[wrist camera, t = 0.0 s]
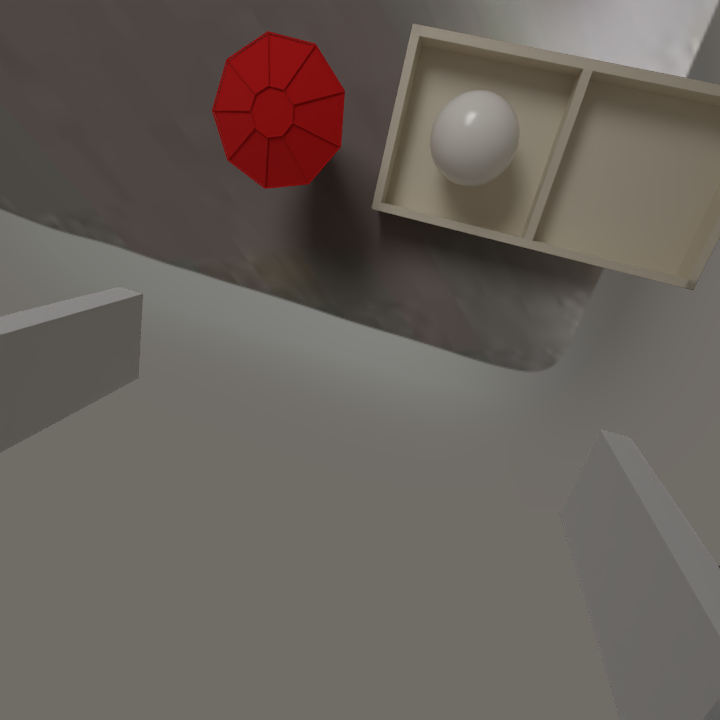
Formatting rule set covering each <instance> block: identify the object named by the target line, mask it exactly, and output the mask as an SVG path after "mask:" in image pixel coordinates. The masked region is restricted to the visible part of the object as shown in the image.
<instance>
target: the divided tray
mask: <svg viewBox="0 0 720 720" xmlns="http://www.w3.org/2000/svg"><path fill="white" fill-rule="evenodd" d="M472 90H488V91H491V92H494V93H496V94H499V95H500V96H502V97H503V98H504V99H506V100H507V101H508V102H509V104H510V105H511V106H512V107H513V109H514V111H515V113H516V115H517V118H518V122H519V128H520V138H519V144H518V148H517V151H516V154H515V156H514V158H513V160H512V162H511V163H510V165H509V166H508V167H507V169H506V170H505V171H504V172H503V173H502V174H501V175H500V176H498V177H497V178H495V179H494V180H492V181H490V182H488V183H485V184H482V185H478V186H463V185H459V184H456V183H453V182H451V181H450V180H448V179H447V178H445V177H444V176H443V175H442V174H441V173H440V171H439V170H438V169H437V167H436V165H435V163H434V161H433V158H432V155H431V150H430V135H431V130H432V127H433V124H434V121H435V119H436V117H437V116H438V114H439V112H440V111H441V110H442V108H443V107H444V106H445V105H446V104H447V103H448V102H449V101H450V100H452V99H453V98H454V97H456V96H458V95H460V94H462V93H464V92H467V91H472ZM371 209H374V210H378V211H382V212H386V213H390V214H394V215H398V216H402V217H406V218H410V219H413V220H417V221H421V222H425V223H429V224H433V225H437V226H441V227H445V228H449V229H453V230H457V231H461V232H465V233H469V234H473V235H477V236H481V237H485V238H489V239H493V240H497V241H500V242H504V243H508V244H512V245H516V246H520V247H524V248H528V249H532V250H536V251H540V252H544V253H548V254H552V255H556V256H560V257H564V258H568V259H572V260H576V261H580V262H583V263H587V264H591V265H595V266H599V267H603V268H607V269H611V270H616V271H619V272H623V273H627V274H631V275H635V276H639V277H643V278H647V279H651V280H655V281H659V282H663V283H666V284H671V285H674V286H678V287H682V288H686V289H690V290H694V287H695V285H696V284H697V281H698V280H699V278H700V275H701V274H702V271H703V269H704V267H705V266H706V264H707V262H708V260H709V258H710V255H711V254H712V252H713V250H714V248H715V246H716V244H717V241H718V239H719V238H720V85H719V84H714V83H708V82H704V81H699V80H694V79H689V78H684V77H679V76H674V75H669V74H664V73H658V72H653V71H648V70H643V69H638V68H633V67H628V66H623V65H618V64H613V63H608V62H603V61H598V60H593V59H588V58H583V57H578V56H573V55H568V54H563V53H558V52H553V51H548V50H543V49H538V48H533V47H528V46H523V45H518V44H513V43H508V42H503V41H498V40H493V39H487V38H482V37H477V36H472V35H467V34H462V33H457V32H452V31H447V30H442V29H437V28H432V27H427V26H422V25H417V24H413V26H412V30H411V35H410V39H409V44H408V48H407V53H406V57H405V61H404V66H403V70H402V75H401V79H400V84H399V88H398V93H397V97H396V101H395V106H394V110H393V115H392V119H391V124H390V128H389V133H388V137H387V142H386V146H385V150H384V155H383V159H382V164H381V168H380V173H379V177H378V182H377V186H376V191H375V195H374V199H373V204H372V208H371Z"/></svg>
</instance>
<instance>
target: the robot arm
mask: <svg viewBox="0 0 720 720" xmlns="http://www.w3.org/2000/svg"><path fill="white" fill-rule="evenodd" d="M142 299H143V294H142V293H138V292H135V291H131V290H128V289H125V288H122V287H117V288H113V289H109V290H105V291H101V292H97V293H93V294H89V295H85V296H81V297H77V298H73V299H70V300H65V301H61V302H57V303H54V304H49V305H45V306H41V307H37V308H33V309H29V310H25V311H21V312H17V313H13V314H9V315H5V316H1V317H0V452H2V451H4V450H6V449H8V448H10V447H12V446H13V445H15V444H17V443H19V442H21V441H23V440H25V439H26V438H28V437H30V436H32V435H33V434H36V433H38V432H39V431H41V430H43V429H44V428H47V427H49V426H50V425H52V424H54V423H56V422H58V421H60V420H62V419H63V418H65V417H67V416H69V415H71V414H73V413H74V412H76V411H78V410H80V409H82V408H84V407H86V406H87V405H89V404H91V403H93V402H95V401H97V400H99V399H101V398H102V397H104V396H106V395H108V394H110V393H112V392H113V391H115V390H117V389H119V388H121V387H123V386H125V385H126V384H128V383H130V382H132V381H134V380H136V379H138V376H139V357H140V338H141V336H140V335H141V319H142V301H143V300H142ZM560 517H561V520H562V524H563V527H564V530H565V534H566V537H567V541H568V544H569V547H570V551H571V554H572V558H573V561H574V565H575V568H576V571H577V575H578V578H579V582H580V585H581V588H582V592H583V595H584V599H585V602H586V605H587V609H588V613H589V616H590V619H591V623H592V626H593V630H594V633H595V636H596V640H597V643H598V646H599V650H600V653H601V656H602V660H603V664H604V667H605V671H606V674H607V677H608V681H609V684H610V688H611V691H612V695H613V698H614V701H615V705H616V708H617V712H618V715H619V718H620V720H720V566H718V565H717V564H716V562H715V561H714V559H713V558H712V556H711V555H710V553H709V552H708V551H707V549H706V548H705V546H704V545H703V543H702V542H701V540H700V539H699V537H698V536H697V534H696V533H695V532H694V530H693V529H692V527H691V526H690V524H689V523H688V521H687V520H686V518H685V517H684V515H683V514H682V512H681V511H680V510H679V508H678V507H677V505H676V504H675V502H674V501H673V499H672V498H671V496H670V495H669V493H668V492H667V491H666V489H665V488H664V486H663V485H662V483H661V482H660V480H659V479H658V477H657V476H656V474H655V473H654V472H653V470H652V469H651V467H650V466H649V464H648V463H647V461H646V460H645V458H644V457H643V456H642V454H641V453H640V451H639V450H638V448H637V447H636V445H635V444H634V442H633V441H632V439H631V438H629V437H625V436H622V435H619V434H615V433H612V432H609V431H605V430H602V429H600V430H599V432H598V434H597V437H596V438H595V441H594V443H593V445H592V447H591V449H590V451H589V453H588V455H587V457H586V459H585V462H584V463H583V465H582V468H581V470H580V472H579V474H578V476H577V478H576V480H575V482H574V484H573V487H572V488H571V491H570V493H569V495H568V497H567V499H566V501H565V503H564V505H563V507H562V509H561V512H560Z"/></svg>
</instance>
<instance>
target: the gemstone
mask: <svg viewBox="0 0 720 720" xmlns="http://www.w3.org/2000/svg"><path fill="white" fill-rule="evenodd" d="M269 33H270V34H269ZM266 34H267V35H266ZM272 34H273V35H272ZM264 35H265V36H264ZM276 35H277V36H276ZM263 36H264V37H263ZM280 36H281V37H280ZM284 37H285V38H284ZM260 38H261V39H260ZM287 38H289V39H287ZM259 39H260V40H259ZM291 39H293V40H291ZM257 40H258V41H257ZM295 40H297V41H295ZM256 41H257V42H256ZM299 41H300V42H299ZM254 42H255V43H254ZM303 42H304V43H303ZM253 43H254V44H253ZM307 43H308V44H307ZM251 44H252V45H251ZM310 44H312V45H310ZM250 45H251V46H250ZM248 46H249V47H248ZM247 47H248V48H247ZM245 48H246V49H245ZM244 49H245V50H244ZM242 50H243V51H242ZM241 51H242V52H241ZM239 52H240V53H239ZM238 53H239V54H238ZM236 54H237V55H236ZM235 55H236V56H235ZM233 56H234V57H233ZM232 57H233V58H232ZM229 59H230V60H229ZM227 62H228V64H227ZM226 65H227V67H226ZM225 69H226V70H225ZM330 70H331V71H330ZM224 72H225V74H224ZM223 76H224V77H223ZM335 78H336V79H335ZM222 79H223V81H222ZM221 82H222V84H221ZM220 86H221V88H220ZM219 89H220V91H219ZM218 93H219V95H218ZM217 96H218V98H217ZM344 96H345V90H344V89H343V87H342V85H341V84H340V82H339V81H338V79H337V77H336V76H335V74H334V73H333V71H332V69H331V68H330V66H329V65H328V63H327V61H326V60H325V58H324V56H323V55H322V53H321V52H320V50H319V48H318V47H317V45H316V44H315V43H311V42H307V41H303V40H299V39H295V38H292V37H288V36H284V35H280V34H276V33H272V32H268V31H267V32H266V33H264V34H263V35H261V36H260V37H258V38H257V39H256V40H254V41H253V42H251V43H250V44H248V45H247V46H245V47H244V48H242V49H241V50H239V51H238V52H236V53H235V54H233V55H232V56H231V57H229V58H228V59H227V60H226V63H225V67H224V70H223V74H222V77H221V81H220V84H219V88H218V91H217V95H216V98H215V102H214V105H213V109H212V112H213V115H214V118H215V122H216V125H217V128H218V131H219V134H220V138H221V141H222V144H223V147H224V151H225V154H226V157H227V160H228V161H229V162H230V163H232V164H233V165H234V166H236V165H237V166H236V167H237V168H238V169H240V168H241V169H240V170H241V171H242V172H244V171H245V172H244V173H245V174H246V175H248V174H249V175H248V176H249V177H250V178H251V179H253V180H254V181H255V182H257V181H258V182H257V183H258V184H259V185H261V184H262V185H261V186H262V187H263V188H265V189H266V188H276V187H286V186H296V185H306V184H309V183H310V182H311V181H312V180H313V179H314V178H315V176H316V175H317V174H318V173H319V172H320V171H321V169H322V168H323V167H324V166H325V165H326V164H327V162H328V161H329V160H330V159H331V158H332V157H333V156H334V154H335V153H336V152H337V151H338V150H339V149H340V147H341V139H342V125H343V110H344ZM216 100H217V102H216ZM215 103H216V105H215ZM214 107H215V109H214ZM214 112H215V114H214ZM215 116H216V117H215ZM216 119H217V120H216ZM217 122H218V124H217ZM218 125H219V127H218ZM219 129H220V130H219ZM220 132H221V133H220ZM221 135H222V137H221ZM222 138H223V140H222ZM223 142H224V143H223ZM224 145H225V146H224ZM225 148H226V150H225ZM226 151H227V153H226ZM227 155H228V156H227ZM231 161H232V162H231ZM235 164H236V165H235ZM239 167H240V168H239ZM243 170H244V171H243ZM252 177H253V178H252ZM256 180H257V181H256ZM260 183H261V184H260ZM302 183H303V184H302ZM292 184H293V185H292ZM282 185H283V186H282ZM272 186H273V187H272Z"/></svg>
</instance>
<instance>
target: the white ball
mask: <svg viewBox="0 0 720 720" xmlns="http://www.w3.org/2000/svg"><path fill="white" fill-rule="evenodd" d="M519 138H520V128H519V122H518V118H517V115H516V113H515V111H514V109H513V107H512V106H511V105H510V104H509V102H508V101H507V100H506V99H504V98H503V97H502V96H500V95H499V94H496V93H494V92H491V91H488V90H472V91H467V92H464V93H462V94H460V95H458V96H456V97H454V98H453V99H452V100H450V101H449V102H448V103H447V104H446V105H445V106H444V107H443V108H442V110H441V111H440V112H439V114H438V116H437V117H436V119H435V121H434V124H433V127H432V130H431V135H430V150H431V155H432V158H433V161H434V163H435V165H436V167H437V169H438V170H439V171H440V173H441V174H442V175H443V176H444V177H445V178H447V179H448V180H450V181H451V182H453V183H456V184H459V185H463V186H478V185H482V184H485V183H488V182H490V181H492V180H494V179H495V178H497V177H498V176H500V175H501V174H502V173H503V172H504V171H505V170H506V169H507V167H508V166H509V165H510V163H511V162H512V160H513V158H514V156H515V154H516V151H517V148H518V144H519Z"/></svg>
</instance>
